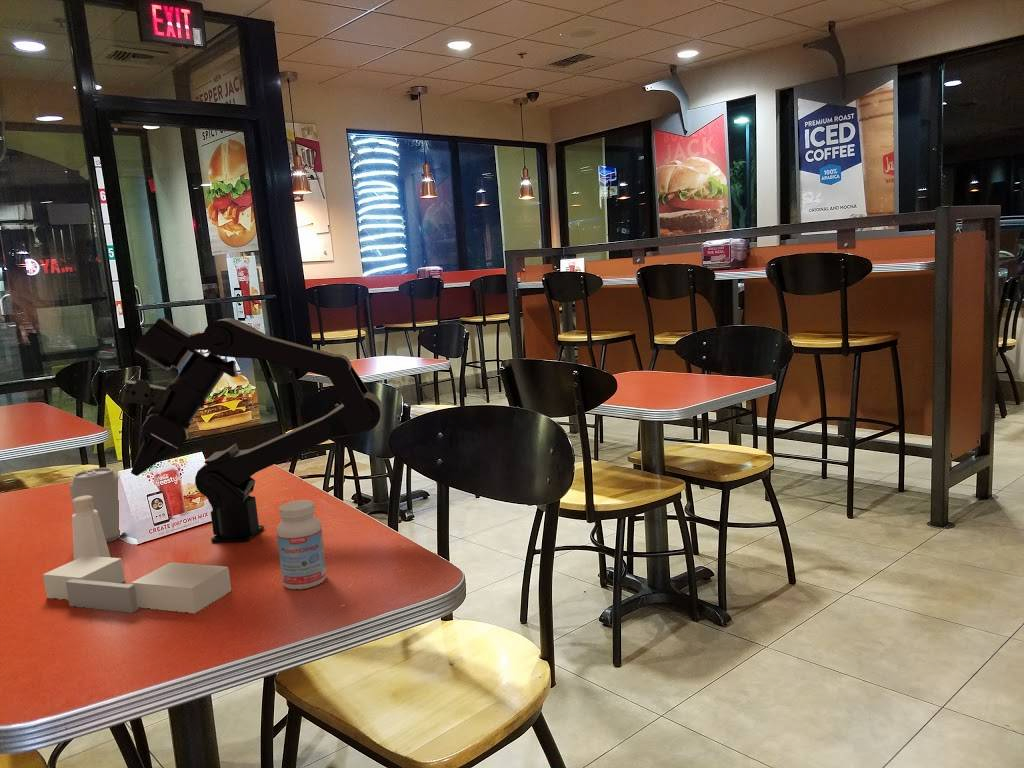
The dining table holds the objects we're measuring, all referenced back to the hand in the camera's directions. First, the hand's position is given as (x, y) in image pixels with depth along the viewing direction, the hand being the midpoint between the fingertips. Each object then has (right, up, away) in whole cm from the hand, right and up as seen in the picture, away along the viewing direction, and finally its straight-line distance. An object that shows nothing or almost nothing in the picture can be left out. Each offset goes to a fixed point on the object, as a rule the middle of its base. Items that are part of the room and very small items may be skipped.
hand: (135, 468), depth 121 cm
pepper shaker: (-6, -15, -2) cm, 16 cm away
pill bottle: (+31, -15, -14) cm, 37 cm away
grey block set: (+7, -16, -15) cm, 23 cm away
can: (-11, -14, +11) cm, 21 cm away
